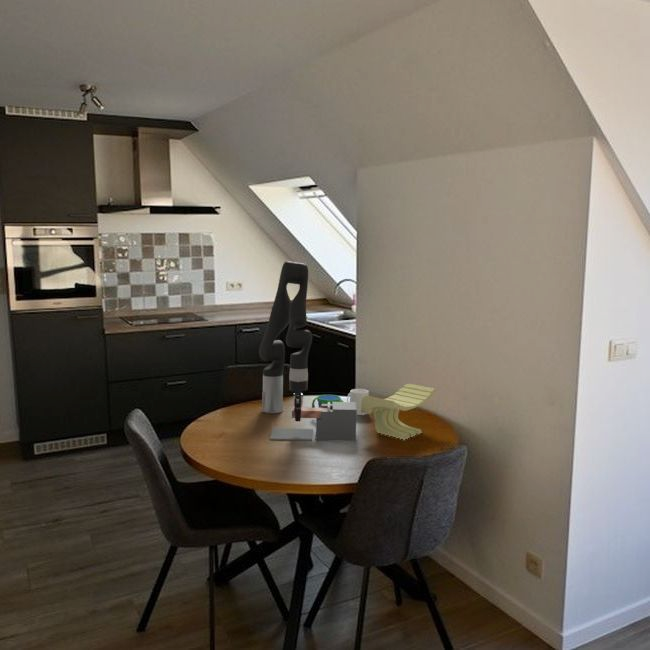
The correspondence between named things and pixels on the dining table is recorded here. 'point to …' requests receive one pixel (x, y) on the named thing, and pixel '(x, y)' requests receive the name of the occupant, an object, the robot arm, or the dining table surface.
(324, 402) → the snack cup
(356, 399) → the mug
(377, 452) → the dining table surface
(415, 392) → the slatted curved stool
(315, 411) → the copper bar
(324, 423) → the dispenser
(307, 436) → the mat
